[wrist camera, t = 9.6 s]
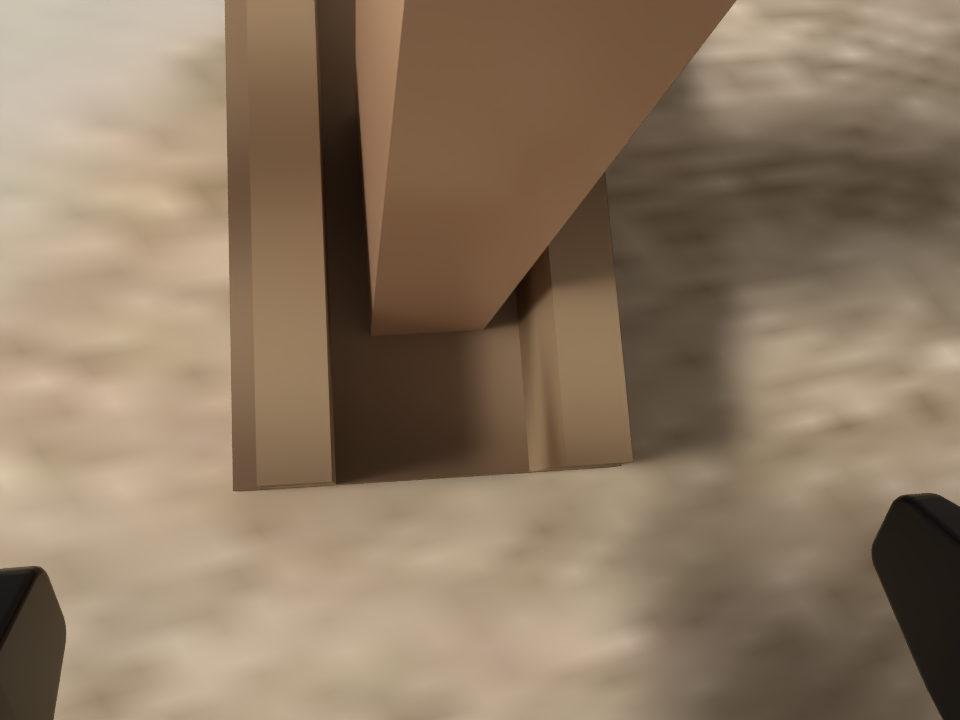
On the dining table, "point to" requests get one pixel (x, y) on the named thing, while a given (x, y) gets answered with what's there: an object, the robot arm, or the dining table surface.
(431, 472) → the tan u-shaped channel
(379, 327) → the clay block
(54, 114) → the dining table surface
